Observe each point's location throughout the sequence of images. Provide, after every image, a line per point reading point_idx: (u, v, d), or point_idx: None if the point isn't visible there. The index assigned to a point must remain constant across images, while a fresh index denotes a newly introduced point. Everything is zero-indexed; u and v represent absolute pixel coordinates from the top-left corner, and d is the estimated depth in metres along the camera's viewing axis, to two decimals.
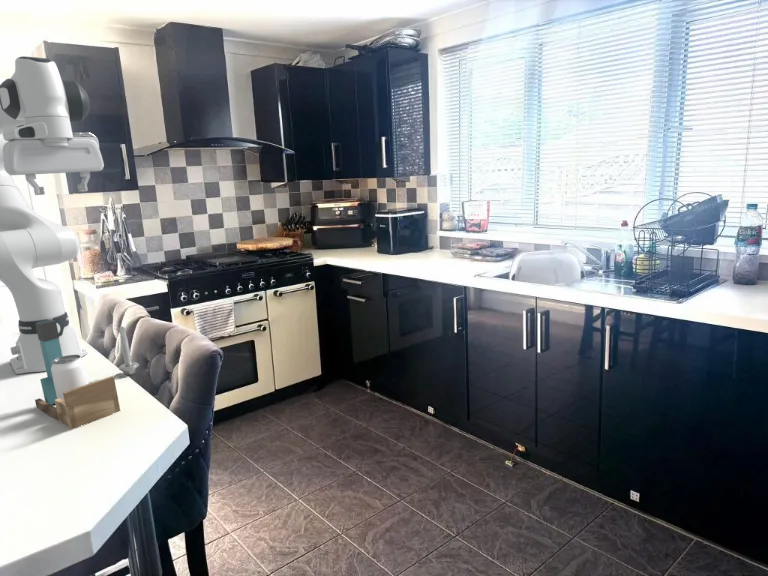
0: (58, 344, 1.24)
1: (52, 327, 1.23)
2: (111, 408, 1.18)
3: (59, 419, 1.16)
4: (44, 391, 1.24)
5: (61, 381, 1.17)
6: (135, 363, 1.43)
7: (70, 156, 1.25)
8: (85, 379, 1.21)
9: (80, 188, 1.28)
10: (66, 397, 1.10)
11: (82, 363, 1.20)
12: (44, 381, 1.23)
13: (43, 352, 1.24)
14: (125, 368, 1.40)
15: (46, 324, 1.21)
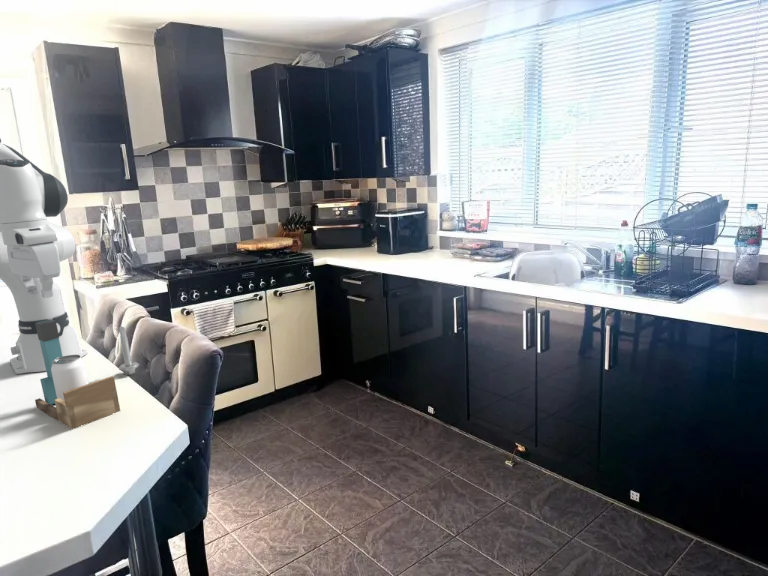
0: (58, 344, 1.24)
1: (52, 327, 1.23)
2: (111, 408, 1.18)
3: (59, 419, 1.16)
4: (44, 391, 1.24)
5: (61, 381, 1.17)
6: (135, 363, 1.43)
7: None
8: (85, 379, 1.21)
9: (34, 290, 1.24)
10: (66, 397, 1.10)
11: (82, 363, 1.20)
12: (44, 381, 1.23)
13: (43, 352, 1.24)
14: (125, 368, 1.40)
15: (46, 324, 1.21)
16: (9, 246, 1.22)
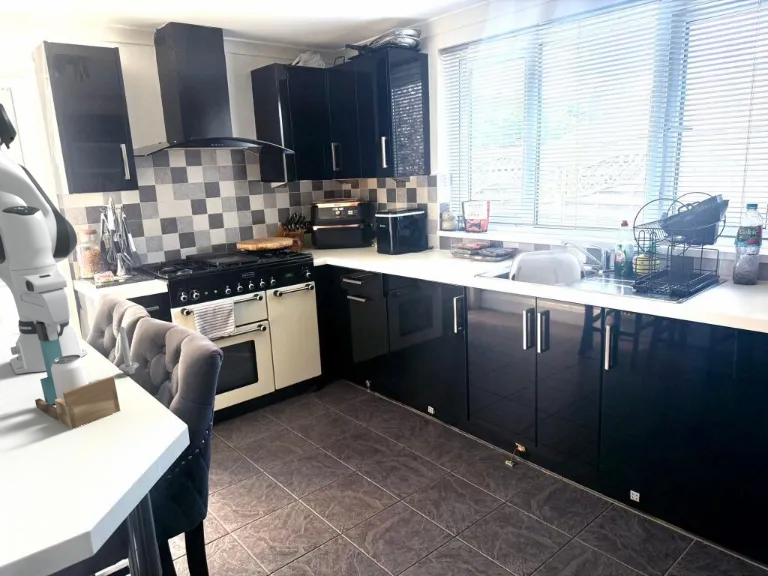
0: (58, 344, 1.24)
1: None
2: (111, 408, 1.18)
3: (59, 419, 1.16)
4: (44, 391, 1.24)
5: (61, 381, 1.17)
6: (135, 363, 1.43)
7: None
8: (85, 379, 1.21)
9: None
10: (66, 397, 1.10)
11: (82, 363, 1.20)
12: (44, 381, 1.23)
13: (43, 352, 1.24)
14: (125, 368, 1.40)
15: None
16: None
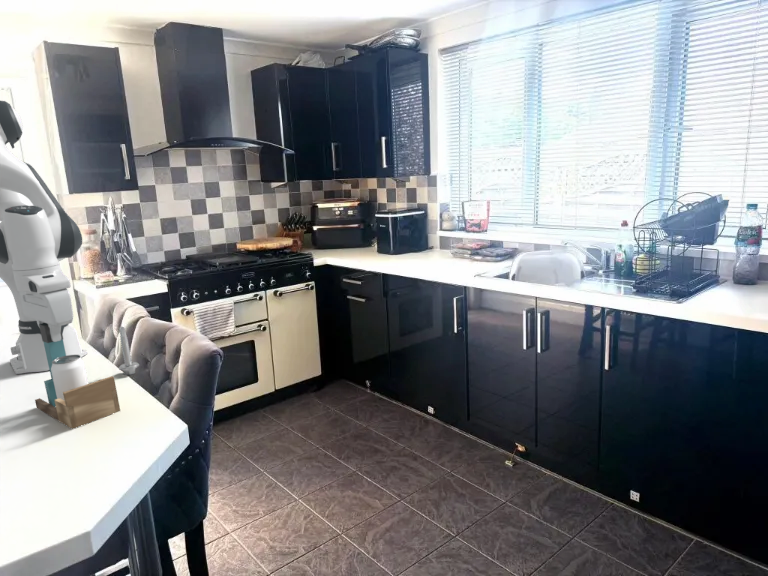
0: (62, 346, 1.22)
1: None
2: (111, 408, 1.18)
3: (59, 419, 1.16)
4: (48, 393, 1.22)
5: (61, 381, 1.17)
6: (135, 363, 1.43)
7: None
8: (85, 379, 1.21)
9: None
10: (66, 397, 1.10)
11: (82, 363, 1.20)
12: (48, 383, 1.21)
13: (47, 354, 1.22)
14: (125, 368, 1.40)
15: None
16: None
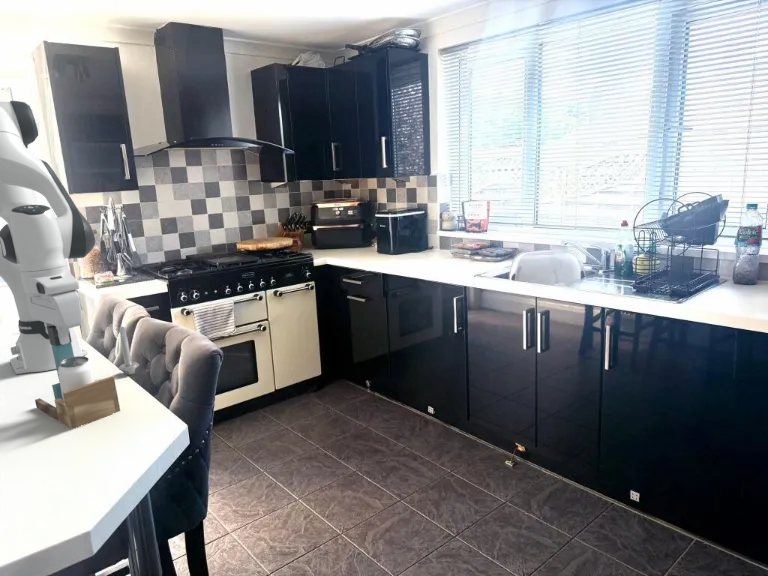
0: (70, 349, 1.20)
1: None
2: (111, 408, 1.18)
3: (59, 419, 1.16)
4: (56, 397, 1.19)
5: (67, 385, 1.14)
6: (135, 363, 1.43)
7: None
8: None
9: None
10: (66, 397, 1.10)
11: (90, 367, 1.17)
12: (56, 387, 1.18)
13: (55, 357, 1.19)
14: (125, 368, 1.40)
15: None
16: None
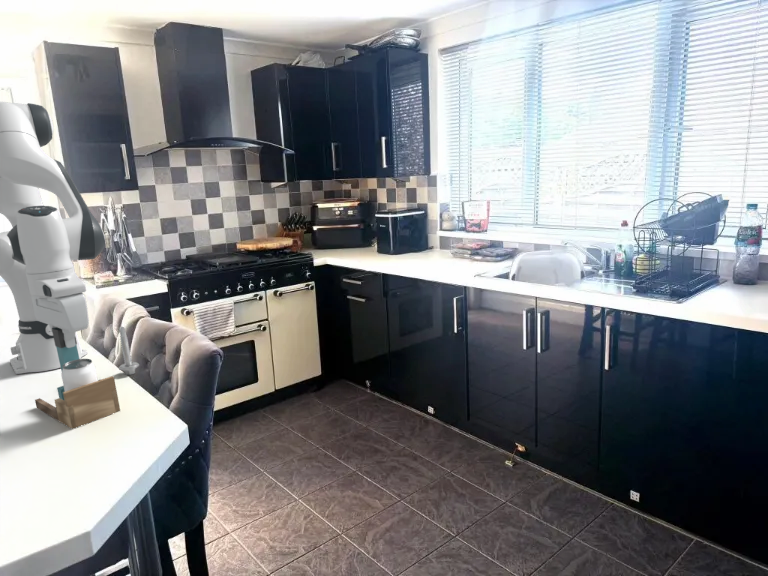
0: (76, 351, 1.18)
1: None
2: (111, 408, 1.18)
3: (59, 419, 1.16)
4: None
5: (71, 387, 1.13)
6: (135, 363, 1.43)
7: None
8: None
9: None
10: (66, 397, 1.10)
11: (93, 369, 1.16)
12: (61, 390, 1.17)
13: (60, 359, 1.17)
14: (125, 368, 1.40)
15: None
16: None
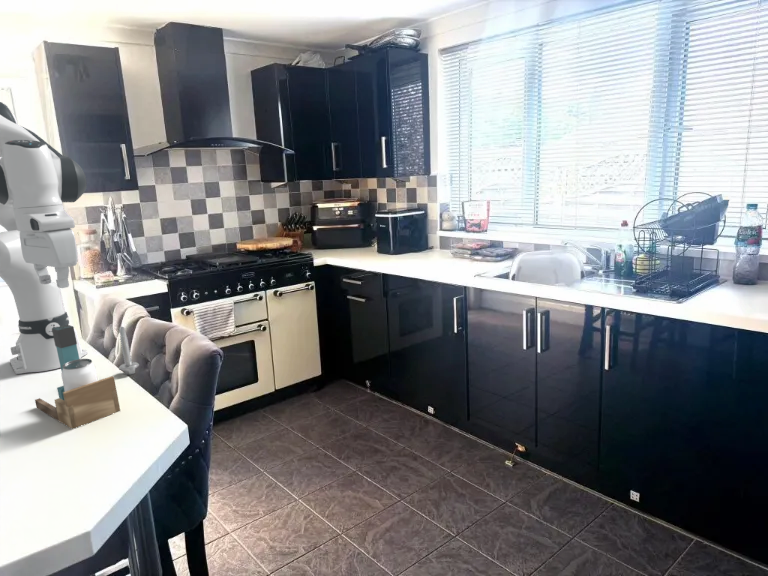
0: (76, 351, 1.18)
1: (69, 333, 1.16)
2: (111, 408, 1.18)
3: (59, 419, 1.16)
4: None
5: (71, 387, 1.13)
6: (135, 363, 1.43)
7: None
8: None
9: (48, 280, 1.17)
10: (66, 397, 1.10)
11: (93, 369, 1.16)
12: (61, 390, 1.17)
13: (60, 359, 1.17)
14: (125, 368, 1.40)
15: (63, 330, 1.15)
16: (22, 233, 1.15)
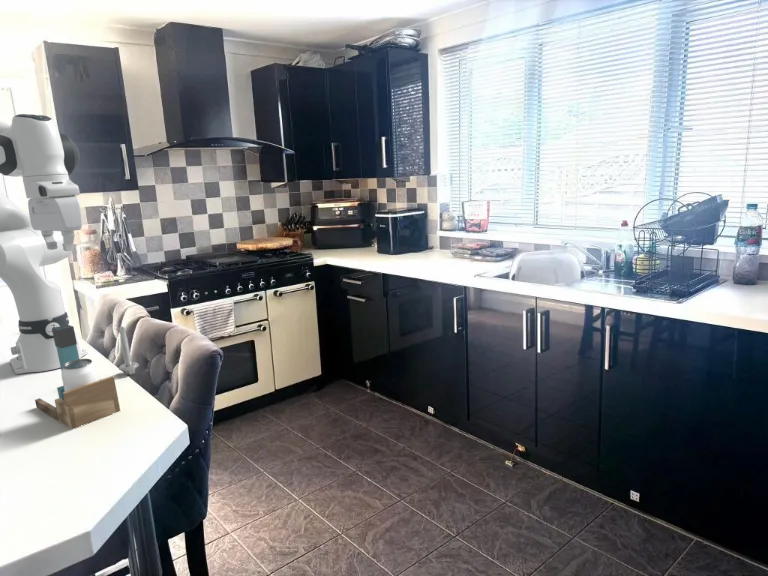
0: (76, 351, 1.18)
1: (69, 333, 1.16)
2: (111, 408, 1.18)
3: (59, 419, 1.16)
4: None
5: (71, 387, 1.13)
6: (135, 363, 1.43)
7: None
8: None
9: (54, 245, 1.26)
10: (66, 397, 1.10)
11: (93, 369, 1.16)
12: (61, 390, 1.17)
13: (60, 359, 1.17)
14: (125, 368, 1.40)
15: (63, 330, 1.15)
16: (30, 201, 1.24)
